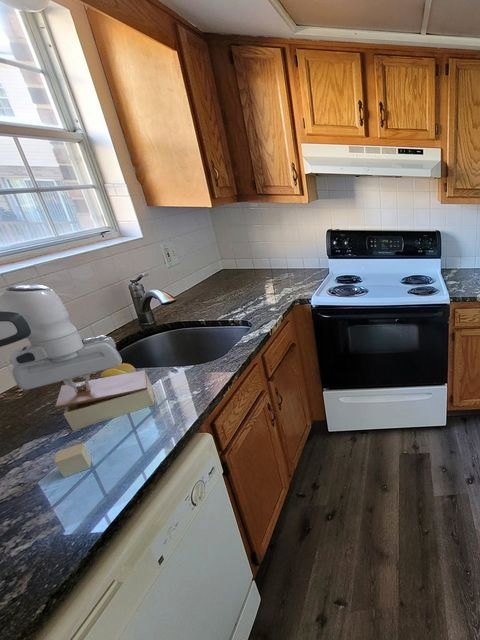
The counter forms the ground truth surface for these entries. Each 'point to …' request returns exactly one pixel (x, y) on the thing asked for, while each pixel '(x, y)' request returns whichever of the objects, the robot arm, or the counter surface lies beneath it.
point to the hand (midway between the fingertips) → (83, 389)
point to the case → (108, 407)
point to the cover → (103, 389)
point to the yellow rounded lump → (118, 370)
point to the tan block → (73, 460)
